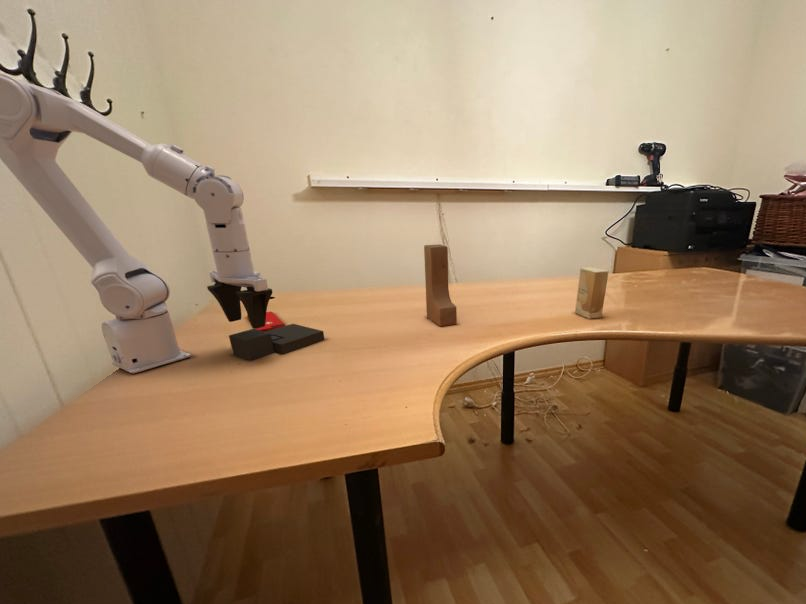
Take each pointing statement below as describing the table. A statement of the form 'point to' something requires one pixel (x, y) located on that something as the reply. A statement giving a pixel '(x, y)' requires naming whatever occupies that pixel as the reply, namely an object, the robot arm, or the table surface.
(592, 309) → the cosmetic box
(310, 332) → the base pad
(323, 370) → the table surface
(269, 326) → the electronic device
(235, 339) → the pad
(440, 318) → the wooden block
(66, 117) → the robot arm
